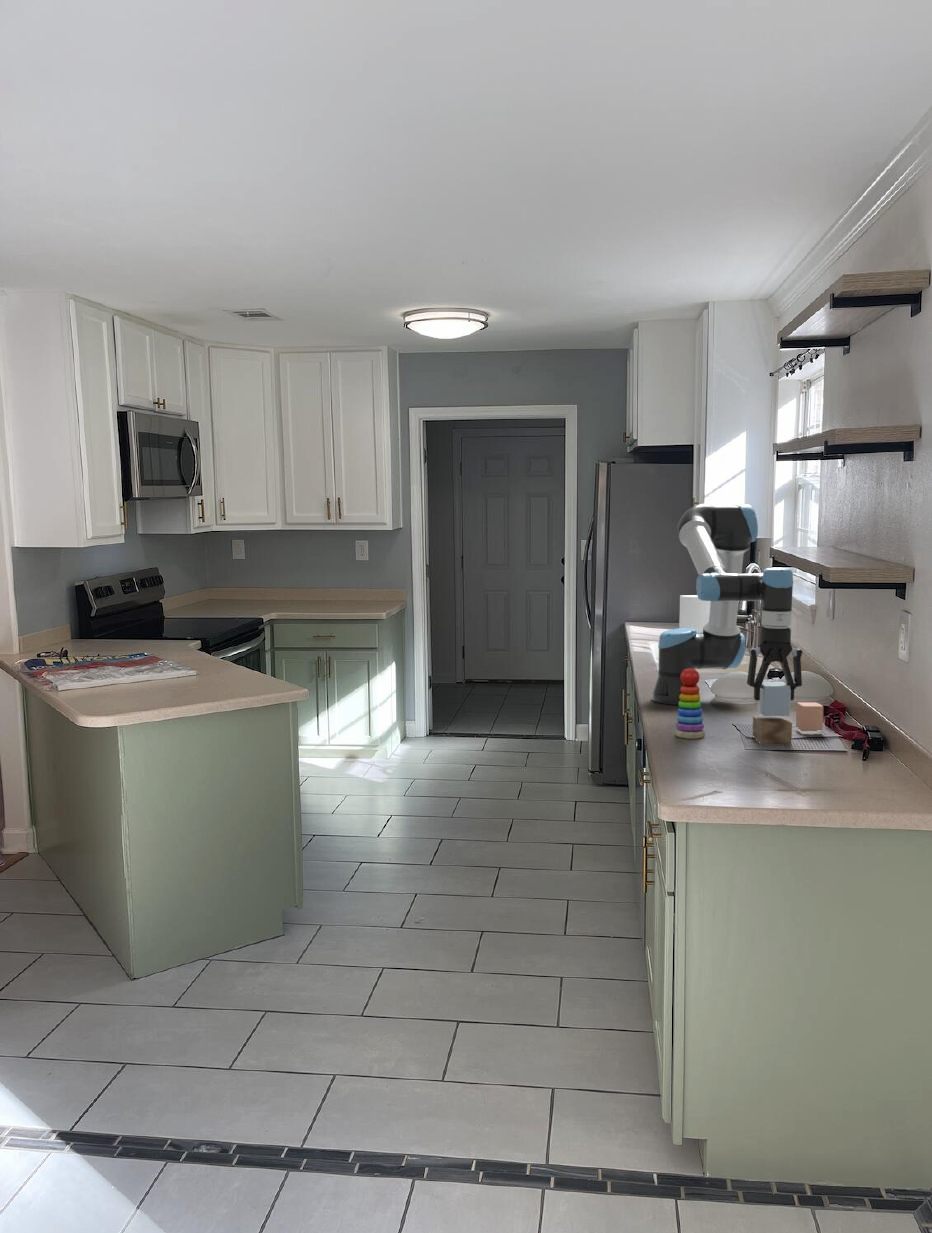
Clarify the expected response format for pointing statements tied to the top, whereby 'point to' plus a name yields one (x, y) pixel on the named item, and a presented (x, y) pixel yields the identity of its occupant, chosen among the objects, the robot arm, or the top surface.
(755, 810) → the top surface
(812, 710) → the terracotta block
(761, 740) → the walnut block
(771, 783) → the top surface
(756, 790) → the top surface
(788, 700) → the blue grey block
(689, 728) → the stacking toy
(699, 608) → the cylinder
